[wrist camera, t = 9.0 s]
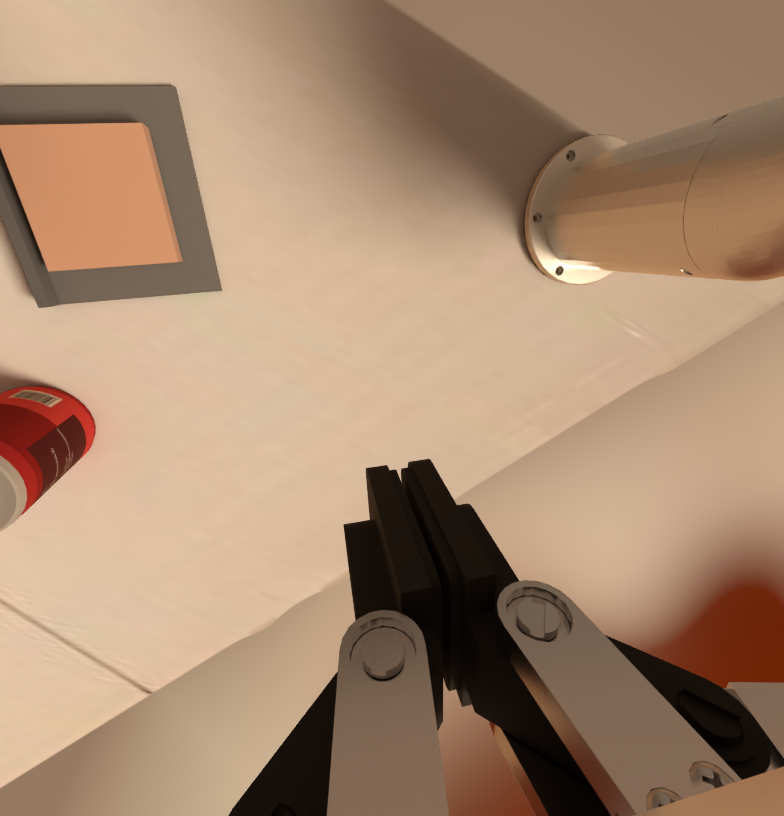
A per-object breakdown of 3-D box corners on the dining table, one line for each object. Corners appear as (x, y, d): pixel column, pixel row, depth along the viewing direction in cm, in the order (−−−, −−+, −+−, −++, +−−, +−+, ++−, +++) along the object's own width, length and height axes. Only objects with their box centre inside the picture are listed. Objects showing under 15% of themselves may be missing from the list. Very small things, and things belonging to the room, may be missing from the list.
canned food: (-30, 403, 33) (-175, 471, 23) (63, 369, 33) (-39, 421, 23) (33, 474, 36) (-70, 561, 26) (117, 442, 37) (47, 516, 27)
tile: (141, 122, 27) (-9, 125, 25) (178, 262, 30) (48, 271, 29) (150, 129, 28) (8, 131, 27) (183, 261, 32) (60, 270, 30)
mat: (176, 88, 28) (168, 78, 26) (221, 290, 34) (217, 292, 32) (-34, 89, 26) (-56, 78, 24) (52, 304, 31) (38, 307, 30)
